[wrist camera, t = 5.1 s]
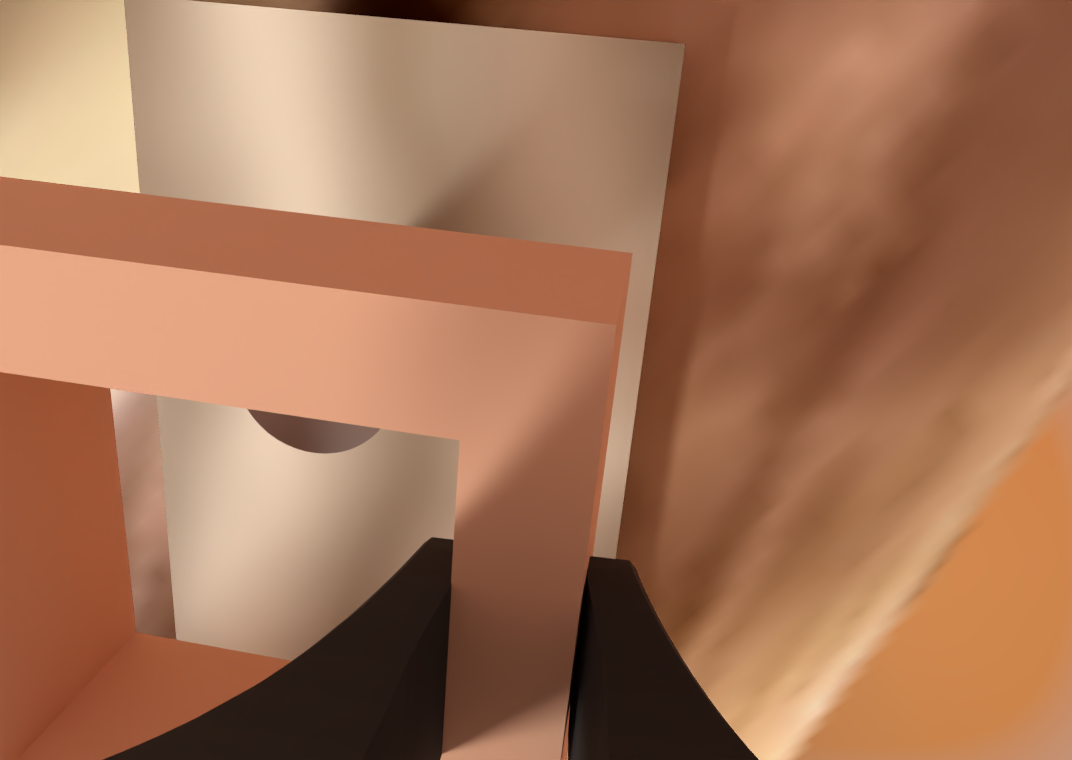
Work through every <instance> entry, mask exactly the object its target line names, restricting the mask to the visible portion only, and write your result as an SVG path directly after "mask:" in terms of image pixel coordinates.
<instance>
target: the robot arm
mask: <svg viewBox="0 0 1072 760" xmlns="http://www.w3.org/2000/svg"><path fill="white" fill-rule="evenodd" d="M453 541H454V540H452V539H444V538H436V537H431V538H430V539H429V540H427V541H426V542H425V543H423V545H422V546H421V547H420V548H419V549H418V550H417V551H416V552H415V553H414V554H413V555H412V556H411V557H410V558H409V560H408V561H407V562H406V563H405V564H404V565H403V566H402V567H401V568H400V569H399V570H398V571H397V572H396V573H395V574H394V575H393V576H392V577H391V578H390V579H389V580H388V581H387V582H386V583H385V584H384V585H383V586H382V587H380V588H379V589H378V590H377V591H376V592H375V593H374V594H373V595H372V596H371V597H370V598H369V599H367V600H366V601H365V602H364V603H363V604H362V605H361V606H360V607H359V608H358V609H357V610H355V611H354V612H353V613H352V614H351V615H350V616H349V617H347V618H346V619H345V620H344V621H342V622H341V623H340V624H339V625H338V626H336V627H335V628H334V629H333V630H331V631H330V632H329V633H328V634H326V635H325V636H324V637H323V638H322V639H320V640H319V641H318V642H317V643H315V644H314V645H313V646H312V647H310V648H309V649H308V650H306V651H305V652H303V653H302V654H301V655H299V656H298V657H297V658H295V659H294V660H293V661H291V662H290V663H288V664H287V665H285V666H284V667H283V668H281V669H280V670H278V671H276V672H275V673H273V674H272V675H270V676H269V677H267V678H266V679H264V680H263V681H261V682H260V683H258V684H256V685H255V686H253V687H251V688H249V689H248V690H246V691H244V692H242V693H240V694H239V695H237V696H235V697H233V698H231V699H230V700H228V701H226V702H224V703H222V704H220V705H219V706H217V707H215V708H213V709H211V710H210V711H208V712H206V713H204V714H202V715H201V716H199V717H197V718H195V719H193V720H191V721H189V722H187V723H185V724H183V725H181V726H178V727H176V728H174V729H172V730H170V731H168V732H166V733H164V734H162V735H159V736H157V737H155V738H153V739H150V740H148V741H146V742H143V743H141V744H139V745H137V746H134V747H132V748H130V749H127V750H125V751H123V752H120V753H118V754H115V755H113V756H110V757H108V758H105V759H103V760H440V759H441V755H442V745H443V727H444V710H445V693H446V675H447V658H448V641H449V623H450V606H451V588H452V583H451V575H452V558H453ZM568 760H759V759H758V758H757V757H756V756H755V755H754V754H753V753H752V752H751V751H750V750H749V748H748V747H747V746H746V745H745V744H744V743H743V741H742V740H741V739H740V738H739V737H738V735H737V734H736V733H735V732H734V731H733V729H732V728H731V727H730V726H729V724H728V723H727V722H726V721H725V719H724V718H723V717H722V715H721V714H720V713H719V711H718V710H717V709H716V707H715V706H714V705H713V703H712V702H711V701H710V699H709V698H708V696H707V695H706V694H705V692H704V691H703V689H702V688H701V686H700V685H699V683H698V682H697V681H696V679H695V678H694V676H693V675H692V673H691V672H690V670H689V669H688V667H687V665H686V664H685V662H684V661H683V659H682V658H681V656H680V654H679V652H678V651H677V649H676V647H675V646H674V644H673V642H672V641H671V639H670V637H669V636H668V634H667V632H666V631H665V629H664V627H663V625H662V623H661V622H660V620H659V618H658V616H657V614H656V612H655V610H654V608H653V606H652V604H651V602H650V600H649V598H648V596H647V594H646V592H645V590H644V587H643V585H642V583H641V581H640V578H639V576H638V573H637V570H636V568H635V567H634V566H633V564H632V563H631V562H630V561H628V560H620V559H612V558H603V557H595V556H590V559H589V564H588V569H587V577H586V584H585V592H584V600H583V608H582V615H581V623H580V631H579V639H578V646H577V654H576V662H575V669H574V677H573V685H572V693H571V700H570V711H569V725H568Z"/></svg>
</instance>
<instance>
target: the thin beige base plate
mask: <svg viewBox="0 0 1072 760" xmlns="http://www.w3.org/2000/svg"><path fill="white" fill-rule="evenodd" d="M124 4H125V16H126V29H127V41H128V53H129V65H130V78H131V90H132V102H133V114H134V126H135V139H136V151H137V163H138V175H139V188H140V194H148V195H156V196H164V197H172V198H181V199H189V200H197V201H206V202H214V203H222V204H230V205H239V206H247V207H255V208H263V209H272V210H280V211H288V212H297V213H305V214H313V215H321V216H330V217H338V218H346V219H355V220H363V221H371V222H379V223H388V224H396V225H404V226H413V227H421V228H429V229H437V230H446V231H454V232H462V233H470V234H479V235H487V236H495V237H504V238H512V239H520V240H528V241H537V242H545V243H553V244H562V245H570V246H578V247H586V248H595V249H603V250H611V251H620V252H628V253H633V255H632V263H631V270H630V278H629V285H628V293H627V301H626V308H625V316H624V323H623V331H622V339H621V346H620V354H619V361H618V369H617V377H616V384H615V392H614V399H613V407H612V415H611V422H610V430H609V437H608V445H607V452H606V460H605V468H604V475H603V483H602V490H601V498H600V506H599V513H598V521H597V528H596V536H595V544H594V551H593V556H595V557H603V558H612V559H616V552H617V545H618V537H619V530H620V523H621V515H622V508H623V500H624V493H625V486H626V478H627V471H628V464H629V456H630V449H631V441H632V434H633V427H634V419H635V412H636V405H637V397H638V390H639V382H640V375H641V368H642V360H643V353H644V346H645V338H646V331H647V324H648V316H649V309H650V301H651V294H652V287H653V279H654V272H655V265H656V257H657V250H658V242H659V235H660V228H661V220H662V213H663V206H664V198H665V191H666V183H667V176H668V169H669V161H670V154H671V147H672V139H673V132H674V124H675V117H676V110H677V102H678V95H679V88H680V80H681V73H682V66H683V58H684V51H685V44H681V43H670V42H658V41H647V40H635V39H624V38H613V37H601V36H590V35H578V34H567V33H556V32H544V31H533V30H521V29H510V28H499V27H487V26H476V25H465V24H453V23H442V22H430V21H419V20H408V19H396V18H385V17H373V16H362V15H351V14H339V13H328V12H316V11H305V10H294V9H282V8H271V7H259V6H248V5H237V4H225V3H214V2H202V1H191V0H124ZM156 396H157V408H158V420H159V432H160V445H161V457H162V469H163V481H164V494H165V506H166V518H167V530H168V542H169V555H170V567H171V579H172V591H173V604H174V616H175V628H176V640H181V641H186V642H192V643H197V644H203V645H208V646H214V647H219V648H224V649H230V650H235V651H241V652H246V653H252V654H257V655H263V656H268V657H274V658H279V659H285V660H290V661H293V660H294V659H295V658H297V657H298V656H299V655H301V654H302V653H303V652H305V651H306V650H308V649H309V648H310V647H312V646H313V645H314V644H315V643H317V642H318V641H319V640H320V639H322V638H323V637H324V636H325V635H326V634H328V633H329V632H330V631H331V630H333V629H334V628H335V627H336V626H338V625H339V624H340V623H341V622H342V621H344V620H345V619H346V618H347V617H349V616H350V615H351V614H352V613H353V612H354V611H355V610H357V609H358V608H359V607H360V606H361V605H362V604H363V603H364V602H365V601H366V600H367V599H369V598H370V597H371V596H372V595H373V594H374V593H375V592H376V591H377V590H378V589H379V588H380V587H382V586H383V585H384V584H385V583H386V582H387V581H388V580H389V579H390V578H391V577H392V576H393V575H394V574H395V573H396V572H397V571H398V570H399V569H400V568H401V567H402V566H403V565H404V564H405V563H406V562H407V561H408V560H409V558H410V557H411V556H412V555H413V554H414V553H415V552H416V551H417V550H418V549H419V548H420V547H421V546H422V545H423V543H425V542H426V541H427V540H429V539H430V538H431V537H436V538H444V539H452V540H454V525H455V508H456V491H457V474H458V457H459V441H460V440H453V439H447V438H440V437H433V436H427V435H420V434H413V433H406V432H400V431H393V430H386V429H380V428H373V427H366V426H359V425H353V424H346V423H339V422H333V421H326V420H319V419H312V418H306V417H299V416H292V415H285V414H279V413H272V412H265V411H259V410H252V409H245V408H238V407H232V406H225V405H218V404H212V403H205V402H198V401H191V400H185V399H178V398H171V397H165V396H158V395H156ZM567 750H568V749H567Z"/></svg>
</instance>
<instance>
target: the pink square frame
mask: <svg viewBox="0 0 1072 760" xmlns="http://www.w3.org/2000/svg"><path fill="white" fill-rule="evenodd" d="M632 255H633V253H628V252H620V251H611V250H603V249H595V248H586V247H578V246H570V245H562V244H553V243H545V242H537V241H528V240H520V239H512V238H504V237H495V236H487V235H479V234H470V233H462V232H454V231H446V230H437V229H429V228H421V227H413V226H404V225H396V224H388V223H379V222H371V221H363V220H355V219H346V218H338V217H330V216H321V215H313V214H305V213H297V212H288V211H280V210H272V209H263V208H255V207H247V206H239V205H230V204H222V203H214V202H206V201H197V200H189V199H181V198H172V197H164V196H156V195H148V194H139V193H131V192H123V191H114V190H106V189H98V188H90V187H81V186H73V185H65V184H56V183H48V182H40V181H32V180H23V179H15V178H7V177H0V760H103V759H105V758H108V757H110V756H113V755H115V754H118V753H120V752H123V751H125V750H127V749H130V748H132V747H134V746H137V745H139V744H141V743H143V742H146V741H148V740H150V739H153V738H155V737H157V736H159V735H162V734H164V733H166V732H168V731H170V730H172V729H174V728H176V727H178V726H181V725H183V724H185V723H187V722H189V721H191V720H193V719H195V718H197V717H199V716H201V715H202V714H204V713H206V712H208V711H210V710H211V709H213V708H215V707H217V706H219V705H220V704H222V703H224V702H226V701H228V700H230V699H231V698H233V697H235V696H237V695H239V694H240V693H242V692H244V691H246V690H248V689H249V688H251V687H253V686H255V685H256V684H258V683H260V682H261V681H263V680H264V679H266V678H267V677H269V676H270V675H272V674H273V673H275V672H276V671H278V670H280V669H281V668H283V667H284V666H285V665H287V664H288V663H290V662H291V661H290V660H285V659H279V658H274V657H268V656H263V655H257V654H252V653H246V652H241V651H235V650H230V649H224V648H219V647H214V646H208V645H203V644H197V643H192V642H186V641H181V640H175V639H170V638H164V637H159V636H153V635H148V634H142V633H137V632H136V626H135V617H134V608H133V598H132V589H131V580H130V570H129V561H128V552H127V542H126V533H125V524H124V514H123V505H122V496H121V486H120V477H119V468H118V458H117V449H116V440H115V430H114V421H113V412H112V402H111V393H110V388H111V389H118V390H124V391H131V392H138V393H144V394H151V395H158V396H165V397H171V398H178V399H185V400H191V401H198V402H205V403H212V404H218V405H225V406H232V407H238V408H245V409H252V410H259V411H265V412H272V413H279V414H285V415H292V416H299V417H306V418H312V419H319V420H326V421H333V422H339V423H346V424H353V425H359V426H366V427H373V428H380V429H386V430H393V431H400V432H406V433H413V434H420V435H427V436H433V437H440V438H447V439H453V440H460V441H459V457H458V474H457V491H456V508H455V525H454V541H453V558H452V575H451V583H452V588H451V606H450V623H449V641H448V658H447V675H446V693H445V710H444V727H443V745H442V755H441V759H440V760H566V756H567V749H568V725H569V711H570V700H571V693H572V685H573V677H574V669H575V662H576V654H577V646H578V639H579V631H580V623H581V615H582V608H583V600H584V592H585V584H586V577H587V569H588V564H589V559H590V556H593V551H594V544H595V536H596V528H597V521H598V513H599V506H600V498H601V490H602V483H603V475H604V468H605V460H606V452H607V445H608V437H609V430H610V422H611V415H612V407H613V399H614V392H615V384H616V377H617V369H618V361H619V354H620V346H621V339H622V331H623V323H624V316H625V308H626V301H627V293H628V285H629V278H630V270H631V263H632Z"/></svg>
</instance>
